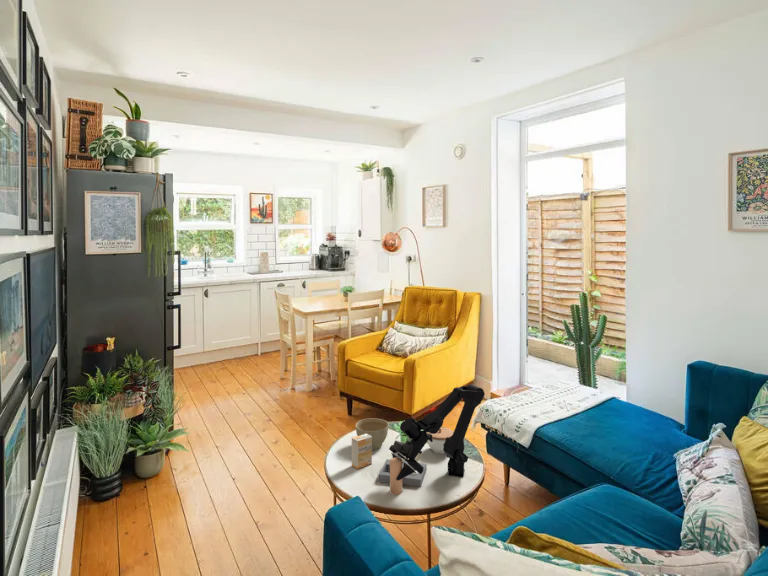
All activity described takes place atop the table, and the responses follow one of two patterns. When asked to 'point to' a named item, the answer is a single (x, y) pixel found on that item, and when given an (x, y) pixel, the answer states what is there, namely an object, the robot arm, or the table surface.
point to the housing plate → (411, 479)
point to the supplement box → (361, 451)
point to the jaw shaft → (395, 476)
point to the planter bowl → (373, 430)
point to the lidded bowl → (439, 440)
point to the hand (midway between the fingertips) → (393, 476)
